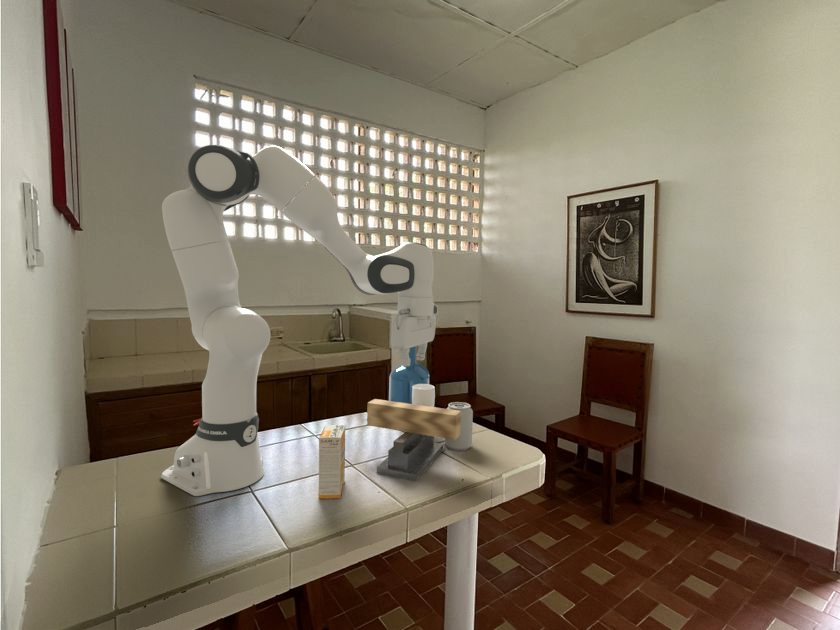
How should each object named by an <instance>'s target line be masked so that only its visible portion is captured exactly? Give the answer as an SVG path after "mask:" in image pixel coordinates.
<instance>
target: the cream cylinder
mask: <svg viewBox="0 0 840 630" xmlns="http://www.w3.org/2000/svg"><path fill="white" fill-rule="evenodd" d="M435 388H436V387H435V386H434V385H432V384H430V383H429V384H416V385H413V386H412V404H415V405H422V406H429V407H435V399H436V389H435Z"/></svg>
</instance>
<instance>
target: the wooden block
mask: <svg viewBox="0 0 840 630" xmlns="http://www.w3.org/2000/svg"><path fill="white" fill-rule="evenodd" d="M366 407H367V408H366V409H367V410H366V411H367V412H366V421H367V422H366V426H369V427H374V428H381V429H388V430H392V431H400V432H403V433H405V432H410V433H416V434H422V435H428V436H434V438H440V439H444V440H445V439H451V440H456V439H457V438H458V437H459V436H460V426H461V411H457V410H450V409H447V408H441V407H436V406H434V407H429V406H422V405H415V404H408V403H400V402H393V401H389V400H387V399H386V400H385V399H378V398H374V399H372V400H370V401H368V402H367V406H366Z"/></svg>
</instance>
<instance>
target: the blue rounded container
mask: <svg viewBox="0 0 840 630" xmlns="http://www.w3.org/2000/svg"><path fill="white" fill-rule="evenodd" d="M408 353H409V358H410V359H411V361H410V365H409V366H402V365H401V364H400V365H397V366H396V367H395V368H394V369H392V370H391V372H390V373H389V377H388V378H389V380H388V381H389V383H388V385H389V386H388V387H389V388H388V389H389V390H388V401H393V402H400V403H408V404H412V386H413V385H416V384H429V385H430V372H429V370H428V369H427V368H426V367H425V366H423V365H422V364H420V363H417V346H414V347H411V348H410V351H409V352H408Z"/></svg>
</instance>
